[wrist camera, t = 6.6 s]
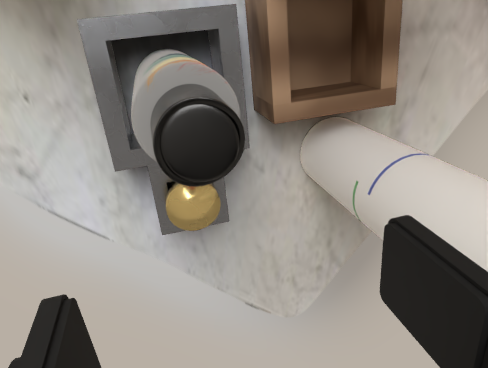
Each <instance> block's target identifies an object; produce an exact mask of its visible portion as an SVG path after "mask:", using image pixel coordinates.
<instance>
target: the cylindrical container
mask: <svg viewBox="0 0 488 368" xmlns="http://www.w3.org/2000/svg"><path fill="white" fill-rule="evenodd" d="M300 160H301V165H302V167H303V169H304V171H305V172H306V174H307V175H308V176H310V177H311V178H312V179H313V180H314V181H315V182H316V183H318V184H319V185H320V186H321V187H322V188H323V189H324V190H326V191H327V192H328V193H329V194H330V195H331V196H332V197H334V198H335V199H336V200H337V201H338V202H339V203H340V204H342V205H343V206H344V207H345V208H346V209H347V210H348V211H350V212H351V213H352V214H353V215H354V216H355V217H356V218H358V219H359V220H360V221H361V222H362V223H363V224H364V225H366V226H367V227H368V228H369V229H370V230H371V231H372V232H374V233H375V234H376V235H377V236H378V237H379V238H380V239H381V240H383V237H384V227H385V225H386V224H388V221H389V220H390V219H391V218H395V217H400V216H404V215H410V216H412V217H413V218H414V219H416V220H417V221H419V222H420V223H421V224H423V225H424V226H425V227H427V228H428V229H430V230H431V231H432V232H434V233H435V234H436V235H438V236H439V237H441V238H442V239H443V240H445V241H446V242H447V243H449V244H450V245H452V246H453V247H454V248H456V249H457V250H458V251H460V252H461V253H463V254H464V255H465V256H467V257H468V258H469V259H471V260H472V261H474V262H475V263H476V264H478V265H479V266H480V267H482V268H483V269H485V270H486V271H487V272H488V180H486V179H483V178H481V177H479V176H477V175H474V174H472V173H470V172H467V171H465V170H463V169H460V168H458V167H456V166H454V165H452V164H449V163H447V162H445V161H442V160H440V159H438V158H435V157H433V156H431V155H429V154H426V153H424V152H422V151H419V150H417V149H415V148H413V147H410V146H408V145H406V144H403V143H401V142H399V141H396V140H394V139H392V138H390V137H387V136H385V135H383V134H380V133H378V132H376V131H374V130H371V129H369V128H367V127H364V126H362V125H360V124H357V123H355V122H353V121H351V120H348V119H346V118H342V117H331V118H327V119H324V120H322V121H320V122H318V123H317V124H316V125H314V126H313V127H312V128H311V129H310V130H309V132H308V133H307V134H306V136H305V138H304V140H303V142H302V145H301V149H300Z"/></svg>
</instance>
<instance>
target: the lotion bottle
mask: <svg viewBox="0 0 488 368" xmlns="http://www.w3.org/2000/svg"><path fill="white" fill-rule="evenodd" d="M131 121H132V127H133V131H134V134H135V137H136V139H137V141H138V143H139V144H140V146H141V147H142V149H143V150H144V151H145V152H146V153H147V154H148V155H149V156H150V157H151V158H152V159H154V160H155V161H156V162H157V163H158V165H159V166H160V168H161V169H162V171H163V172H164V173H165V174H166V175H167V176H168V177H169V178H170V179H172V180H173V181H175V182H177V183H179V184H182V185H185V186H192V187H198V186H205V185H208V184H211V183H214V182H216V181H218V180H220V179H221V178H223V177H224V176H226V175H227V174H228V173H229V172H230V171H231V170H232V169H233V168H234V167H235V166H236V164H237V163H238V161H239V159H240V158H241V155H242V153H243V150H244V146H245V132H244V127H243V125H242V122H241V120H240V109H239V104H238V101H237V98H236V95H235V93H234V91H233V89H232V88H231V86H230V85H229V83H228V82H227V81H226V80H225V79H224V78H223V77H222V76H221V75H220V74H219V73H217V72H216V71H214V70H213V69H211V68H210V67H208V66H206V65H205V64H203V63H201V62H199V61H197V60H196V59H194V58H192V57H190V56H188V55H187V54H185V53H183V52H180V51H177V50H173V49H161V50H157V51H154V52H152V53H150V54H149V55H148V56H146V57H145V58H144V59H143V60H142V62H141V63H140V65H139V66H138V69H137V71H136V75H135V81H134V89H133V97H132V107H131Z"/></svg>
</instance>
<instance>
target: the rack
mask: <svg viewBox="0 0 488 368" xmlns="http://www.w3.org/2000/svg"><path fill="white" fill-rule="evenodd" d="M245 6H246V18H247V30H248V42H249V54H250V65H251V77H252V89H253V101H254V110H255V111H257V112H258V113H260V114H261V115H262V116H264V117H265V118H267V119H268V120H269V121H271V122H272V123H274V124H278V123H284V122H290V121H296V120H302V119H309V118H315V117H321V116H327V115H333V114H339V113H346V112H352V111H358V110H364V109H370V108H376V107H382V106H389V105H395V103H396V88H397V74H398V59H399V44H400V30H401V15H402V0H245Z"/></svg>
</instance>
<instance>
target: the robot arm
mask: <svg viewBox="0 0 488 368" xmlns="http://www.w3.org/2000/svg"><path fill="white" fill-rule="evenodd" d="M380 295H381V298H382V300H383V301H384V303H385V304H386V305H387V306H388V307H389V309H390V310H391V311H392V312H393V313H394V315H395V316H396V317H397V318H398V319H399V320H400V321H401V323H402V324H403V325H404V326H405V327H406V328H407V330H408V331H409V332H410V333H411V334H412V335H413V337H414V338H415V339H416V340H417V341H418V342H419V344H420V345H421V346H422V347H423V348H424V349H425V351H426V352H427V353H428V354H429V355H430V356H431V358H432V359H433V360H434V361H435V362H436V363H437V365H438V366H439V367H440V368H488V272H487V271H486V270H485V269H483V268H482V267H480V266H479V265H478V264H476V263H475V262H474V261H472V260H471V259H469V258H468V257H467V256H465V255H464V254H463V253H461V252H460V251H458V250H457V249H456V248H454V247H453V246H452V245H450V244H449V243H447V242H446V241H445V240H443V239H442V238H441V237H439V236H438V235H436V234H435V233H434V232H432V231H431V230H430V229H428V228H427V227H425V226H424V225H423V224H421V223H420V222H419V221H417V220H416V219H414V218H413V217H412V216H410V215H404V216H400V217H395V218H391V219H390V220H389V221H388V224H386V225H385V227H384V237H383V252H382V268H381V281H380ZM8 368H101V365H100V363H99V360H98V357H97V355H96V352H95V349H94V347H93V344H92V341H91V339H90V336H89V333H88V331H87V328H86V325H85V323H84V320H83V317H82V315H81V312H80V309H79V307H78V304H77V301H76V300H75V298H71V299H68V297H67V295H60V296H56V297H51V298H47V299H43V300H42V301H41V303H40V305H39V308H38V311H37V314H36V317H35V319H34V322H33V325H32V327H31V331H30V333H29V336H28V339H27V341H26V345H25V347H24V350H23V353H22V355H21V357H20V358H15V359H14V360H13V361H12V362H11V364H10V365H9V367H8Z"/></svg>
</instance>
